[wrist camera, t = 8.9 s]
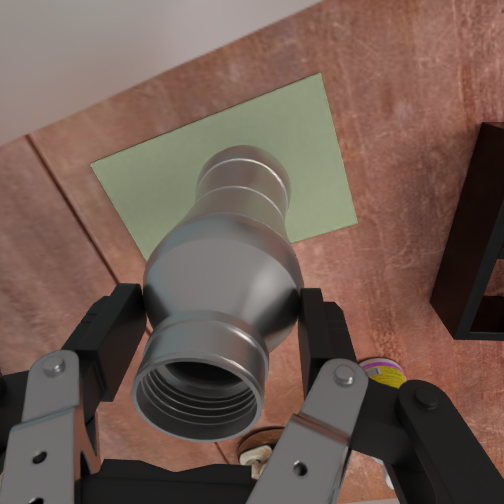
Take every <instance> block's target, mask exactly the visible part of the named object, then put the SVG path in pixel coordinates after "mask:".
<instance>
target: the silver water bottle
mask: <svg viewBox="0 0 504 504" xmlns="http://www.w3.org/2000/svg"><path fill="white" fill-rule="evenodd" d="M290 199H291V183H290V179H289V176H288V174H287V172H286V170H285V168H284V167H283V166H282V164H281V163H280V162H279V161H278V159H277V158H275V157H274V156H273V155H272V154H271V153H269V152H268V151H266V150H264V149H262V148H259V147H256V146H251V145H236V146H232V147H229V148H226V149H224V150H222V151H220V152H218V153H216V154H215V155H214V156H212V157H211V158H210V159H209V160H208V161H207V162H206V163H205V165H204V166H203V167H202V169H201V171H200V173H199V177H198V180H197V185H196V199H195V202H194V205H193V206H192V208H191V209H190V211H189V212H188V213H187V215H186V216H185V217H184V218H183V219H182V220H181V221H180V222H179V223H178V224H177V225H176V226H175V227H174V228H173V229H172V230H171V231H170V232H168V233H167V234H166V236H165V237H164V238H163V239H162V240H161V241H160V243H159V244H158V245H157V247H156V248H155V249H154V250H153V252H152V253H151V255H150V257H149V259H148V261H147V263H146V267H145V271H144V276H143V303H144V306H145V310H146V313H147V316H148V318H149V321H150V324H151V326H152V328H153V332H152V333H151V335H150V337H149V339H148V341H147V343H146V345H145V349H144V353H143V360H142V362H141V364H140V366H139V368H138V371H137V373H136V375H135V377H134V381H133V386H132V390H131V396H132V402H133V404H134V407H135V409H136V410H137V412H138V413H139V415H140V416H141V417H142V418H143V419H144V420H145V421H146V422H147V423H148V424H150V425H151V426H152V427H154V428H155V429H157V430H159V431H161V432H163V433H165V434H167V435H170V436H172V437H175V438H178V439H183V440H187V441H193V442H220V441H225V440H229V439H233V438H236V437H238V436H240V435H243V434H244V433H246V432H247V431H249V430H250V429H251V428H252V427H253V426H254V425H255V424H256V423H257V421H258V419H259V418H260V416H261V411H262V408H263V403H264V389H265V381H266V379H267V376H268V371H269V353H271V352H272V351H273V350H274V349H275V348H276V347H277V346H279V345H280V344H281V343H282V342H283V341H284V340H285V339H286V338H287V336H288V335H289V334H290V333H291V332H292V330H293V328H294V326H295V324H296V322H297V320H298V315H299V303H300V289H301V288H304V281H303V278H302V274H301V270H300V266H299V262H298V259H297V257H296V255H295V253H294V250H293V248H292V246H291V243H290V241H289V239H288V236H287V232H286V227H285V216H286V214H287V211H288V209H289V204H290Z"/></svg>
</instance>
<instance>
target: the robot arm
mask: <svg viewBox="0 0 504 504" xmlns="http://www.w3.org/2000/svg"><path fill="white" fill-rule="evenodd" d="M146 323H147V316H146V310H145V306H144V303H143V294H142V289H141V286H140V284H129V283H119V284H118V285H117V286H116V287H115V289H114V290H113V292H112V293H111V295H110V296H103V297H102V298H101V299H99V300H98V301H97V302H95V303H94V304H93V305H92V306H91V308H90V309H89V310H88V312H87V313H86V315H85V316H84V317H83V319H82V320H81V323H79V324H78V326H77V327H76V329H75V330H74V331H73V333H72V334H71V336H70V337H69V338H68V340H67V341H66V343H65V344H64V345H63V347H62V348H61V350H58V351H54V352H51V353H48V354H46V355H44V356H43V357H41V358H39V359H38V360H37V361H36V362H35V363H34V364H33V365H32V366H31V368H30V370H28V371H23V372H18V373H14V374H9V375H4V376H2V374H1V372H0V474H1V473H2V472H3V474H2V480H1V486H0V504H336V502H337V499H338V496H339V492H340V489H341V486H342V483H343V480H344V477H345V473H346V470H347V467H348V464H349V461H350V458H351V454H352V451H353V450H355V451H358V452H360V453H363V454H366V455H369V456H371V457H374V458H377V459H380V460H382V461H383V463H384V465H385V468H386V470H387V473H388V475H389V478H390V480H391V483H392V485H393V488H394V490H395V493H396V495H397V497H398V500H399V502H400V504H504V479H503V478H502V476H501V475H500V473H499V472H498V470H497V469H496V467H495V466H494V464H493V463H492V461H491V460H490V458H489V457H488V455H487V454H486V452H485V451H484V449H483V448H482V446H481V445H480V443H479V442H478V440H477V439H476V437H475V436H474V434H473V433H472V431H471V430H470V428H469V427H468V425H467V424H466V423H465V421H464V420H463V418H462V417H461V415H460V414H459V412H458V411H457V409H456V408H455V406H454V405H453V403H452V402H451V400H450V399H449V397H448V396H447V395H446V394H445V393H444V392H443V391H442V390H441V389H440V388H438V387H437V386H435V385H433V384H431V383H429V382H426V381H422V380H409V381H406V382H404V383H402V384H401V385H400V387H399V388H396V387H392V386H389V385H386V384H382V383H380V382H377V381H375V380H373V379H371V378H370V377H368V375H367V373H366V372H365V370H364V369H363V368H362V367H361V366H360V365H358V363H357V360H356V356H355V353H354V349H353V346H352V342H351V338H350V335H349V331H348V328H347V324H346V321H345V317H344V313H343V311H342V309H341V308H340V307H339V306H338V305H337V304H336V303H335V302H323V297H322V292H321V289H320V288H301V289H300V303H299V315H298V340H299V350H300V361H301V371H302V382H303V392H304V404H303V406H302V408H301V410H300V412H299V413H298V414H295V413H294V414H293V415H292V416H291V418H290V419H289V421H288V423H287V425H286V427H285V429H284V431H283V432H282V434H281V436H280V438H279V440H278V442H277V444H276V446H275V448H274V450H273V452H272V454H271V456H270V458H269V460H268V461H267V463H266V465H265V467H264V469H263V471H262V473H261V475H260V477H259V479H258V480H257V479H254V478H252V465H230V464H212V465H207V466H203V467H198V468H194V469H189V470H185V471H180V472H172V471H169V470H166V469H163V468H160V467H157V466H154V465H152V464H149V463H146V462H143V461H140V460H118V459H104V461H103V463H102V466H101V459H100V444H99V429H98V416H97V412H96V409H97V407H98V405H99V403H100V401H103V402H113V400H114V398H115V395H116V393H117V391H118V389H119V387H120V384H121V382H122V380H123V378H124V376H125V373H126V371H127V369H128V367H129V365H130V363H131V360H132V358H133V356H134V354H135V352H136V349H137V347H138V345H139V343H140V341H141V338H142V336H143V334H144V332H145V329H146Z"/></svg>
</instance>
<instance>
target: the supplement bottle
mask: <svg viewBox="0 0 504 504" xmlns="http://www.w3.org/2000/svg"><path fill="white" fill-rule="evenodd" d="M359 365H360V366H361V367H362V368H363V369H364V370H365V372H366V373H367V375H368V377H370V378H371V379H373V380H375V381H377V382H380V383H382V384H386V385H389V386H392V387H396V388H399V387H400V385H401V384H402V383H404V382H406V381H407V379H406V377H405V374H404V372H403V370H402V369H401V367H400V366H399V365H398V364H397V363H395V362H394V361H391V360H389V359H384V358H374V359H369V360H366V361H364V362H362V363H360V364H359ZM372 458H373V459H374V460H375V461H376V462H378V463H379V464H381V465H383V474H384V477H385V480H386V483H387V485H388V486H389V487H390V488H392V489H393V490H394V488H393V485H392V483H391V480H390V478H389V475H388V473H387V470H386V468H385V465H384V463H383V461H382V460H380V459H377V458H374V457H372Z"/></svg>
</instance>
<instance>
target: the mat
mask: <svg viewBox="0 0 504 504" xmlns="http://www.w3.org/2000/svg"><path fill="white" fill-rule="evenodd" d="M236 145H251V146H256V147H259V148H262V149H264V150H266V151H268V152H269V153H271V154H272V155H273V156H274V157H275V158H277V159H278V161H279V162H280V163H281V164H282V166H283V167H284V168H285V170H286V172H287V174H288V176H289V179H290V183H291V199H290V204H289V209H288V211H287V214H286V216H285V227H286V232H287V236H288V239H289V241H290V243H294V242H297V241H300V240H304V239H307V238H310V237H314V236H317V235H320V234H324V233H327V232H330V231H334V230H337V229H340V228H344V227H347V226H350V225H354V224H357V223H358V221H357V217H356V213H355V209H354V205H353V201H352V197H351V193H350V189H349V185H348V181H347V177H346V173H345V169H344V165H343V161H342V157H341V153H340V149H339V145H338V141H337V136H336V132H335V128H334V124H333V120H332V116H331V112H330V108H329V104H328V100H327V96H326V92H325V88H324V84H323V80H322V76H321V73H317V74H314V75H312V76H309V77H306V78H304V79H301V80H299V81H296V82H294V83H291V84H289V85H286V86H284V87H281V88H279V89H276V90H274V91H271V92H269V93H266V94H264V95H261V96H259V97H256V98H254V99H251V100H248V101H246V102H243V103H241V104H238V105H236V106H233V107H231V108H228V109H226V110H223V111H221V112H218V113H216V114H213V115H211V116H208V117H206V118H203V119H201V120H198V121H195V122H193V123H190V124H188V125H185V126H183V127H180V128H178V129H175V130H173V131H170V132H168V133H165V134H163V135H160V136H158V137H155V138H153V139H150V140H148V141H145V142H143V143H140V144H137V145H135V146H132V147H130V148H127V149H125V150H122V151H120V152H117V153H115V154H112V155H110V156H107V157H105V158H102V159H100V160H97V161H95V162H92V163H90V166H91V167H92V169H93V171H94V173H95V174H96V176H97V178H98V179H99V181H100V183H101V185H102V186H103V188H104V190H105V191H106V193H107V195H108V197H109V198H110V200H111V202H112V203H113V205H114V207H115V209H116V210H117V212H118V214H119V215H120V217H121V219H122V221H123V222H124V224H125V226H126V227H127V229H128V231H129V233H130V234H131V236H132V238H133V239H134V241H135V243H136V245H137V246H138V248H139V250H140V251H141V253H142V255H143V257H144V258H145V260H146V262H147V261H148V259H149V257H150V255H151V253H152V252H153V250H154V249H155V248H156V247H157V245H158V244H159V243H160V241H161V240H162V239H163V238H164V237H165V236H166V234H167V233H168V232H170V231H171V230H172V229H173V228H174V227H175V226H176V225H177V224H178V223H179V222H180V221H181V220H182V219H183V218H184V217H185V216H186V215H187V213H188V212H189V211H190V209H191V208H192V206H193V205H194V202H195V199H196V185H197V180H198V177H199V173H200V171H201V169H202V167H203V166H204V165H205V163H206V162H207V161H208V160H209V159H210V158H211V157H212V156H214V155H215V154H216V153H218V152H220V151H222V150H224V149H226V148H229V147H232V146H236Z"/></svg>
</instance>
